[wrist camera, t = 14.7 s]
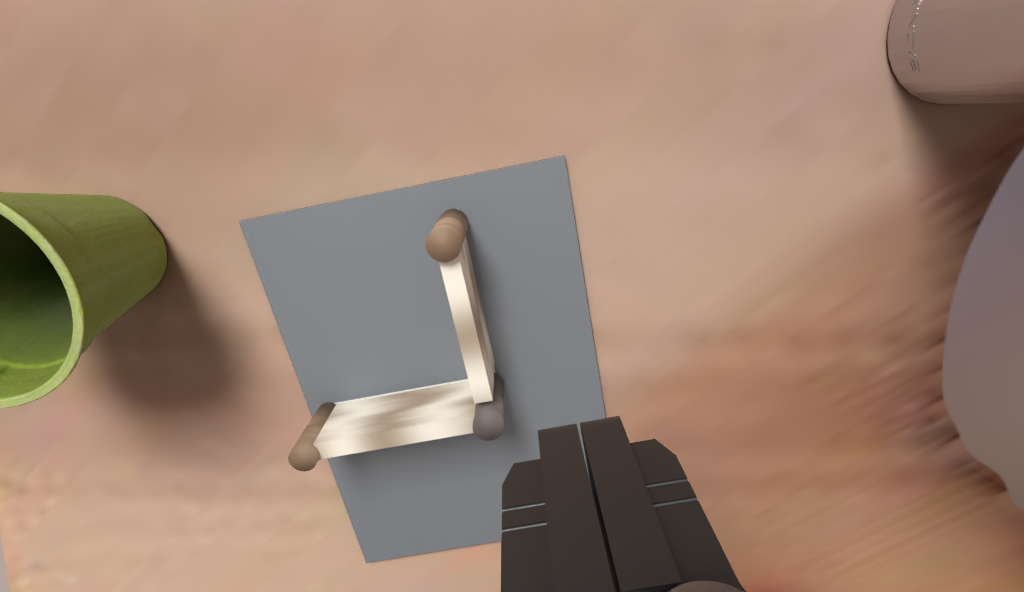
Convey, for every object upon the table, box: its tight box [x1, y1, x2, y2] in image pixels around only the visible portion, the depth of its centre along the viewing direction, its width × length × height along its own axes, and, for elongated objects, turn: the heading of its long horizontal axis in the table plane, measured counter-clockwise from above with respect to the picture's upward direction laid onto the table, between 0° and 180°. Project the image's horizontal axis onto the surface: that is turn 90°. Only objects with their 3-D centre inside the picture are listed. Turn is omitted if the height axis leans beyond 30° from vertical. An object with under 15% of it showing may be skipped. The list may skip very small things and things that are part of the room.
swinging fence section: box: [288, 373, 504, 471], centre depth 36 cm, size 14×2×6 cm, turn 101°
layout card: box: [239, 156, 606, 563], centre depth 39 cm, size 22×30×1 cm
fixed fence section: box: [426, 209, 495, 404], centre depth 34 cm, size 12×2×6 cm, turn 11°
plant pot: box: [0, 192, 167, 408], centre depth 30 cm, size 12×12×11 cm
